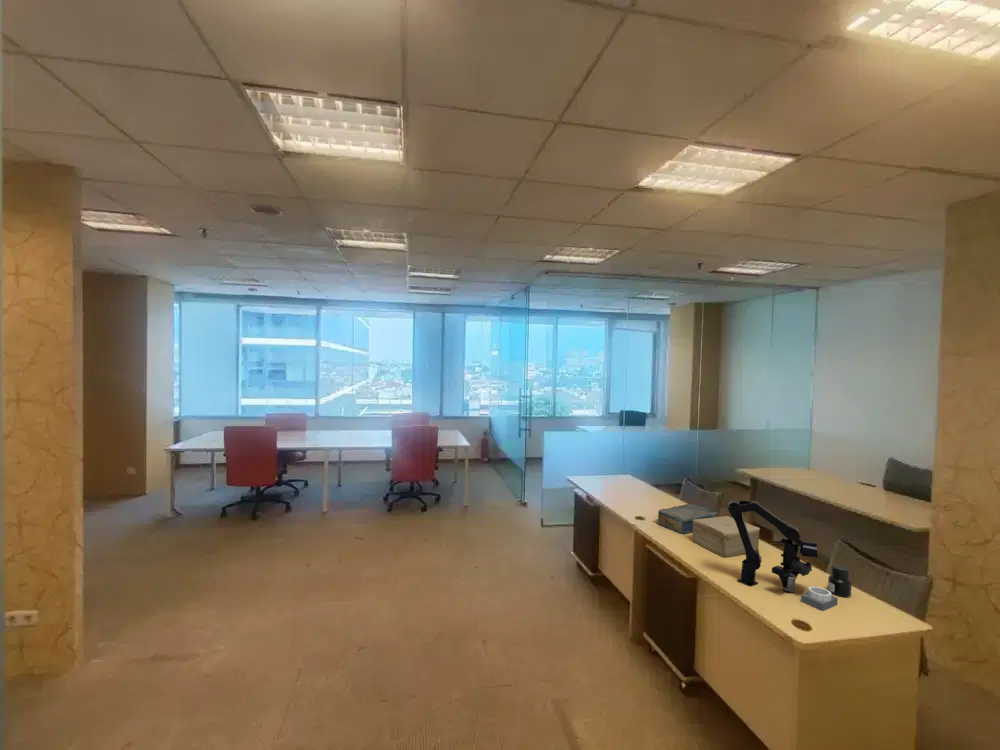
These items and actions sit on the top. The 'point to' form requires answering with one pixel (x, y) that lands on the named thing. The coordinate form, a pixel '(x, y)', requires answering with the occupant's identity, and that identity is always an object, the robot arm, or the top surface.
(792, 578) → the lens
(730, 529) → the paper package
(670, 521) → the metal box
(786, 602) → the top surface
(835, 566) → the ink bottle
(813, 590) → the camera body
